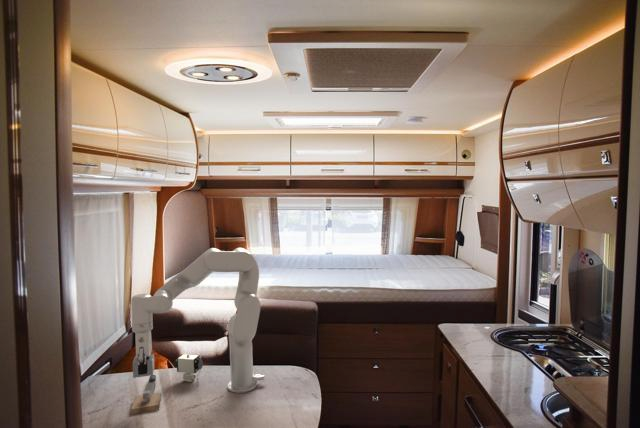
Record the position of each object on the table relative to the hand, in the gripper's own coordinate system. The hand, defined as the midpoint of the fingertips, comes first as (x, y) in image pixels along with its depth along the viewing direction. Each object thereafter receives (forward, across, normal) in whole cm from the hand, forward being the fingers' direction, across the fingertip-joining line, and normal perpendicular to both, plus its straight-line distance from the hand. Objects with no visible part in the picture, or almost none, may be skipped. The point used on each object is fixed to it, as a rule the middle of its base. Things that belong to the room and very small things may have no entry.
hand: (144, 369), depth 162 cm
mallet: (+15, +9, -1) cm, 17 cm away
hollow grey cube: (+1, 0, 0) cm, 1 cm away
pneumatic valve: (+15, +17, -17) cm, 28 cm away
